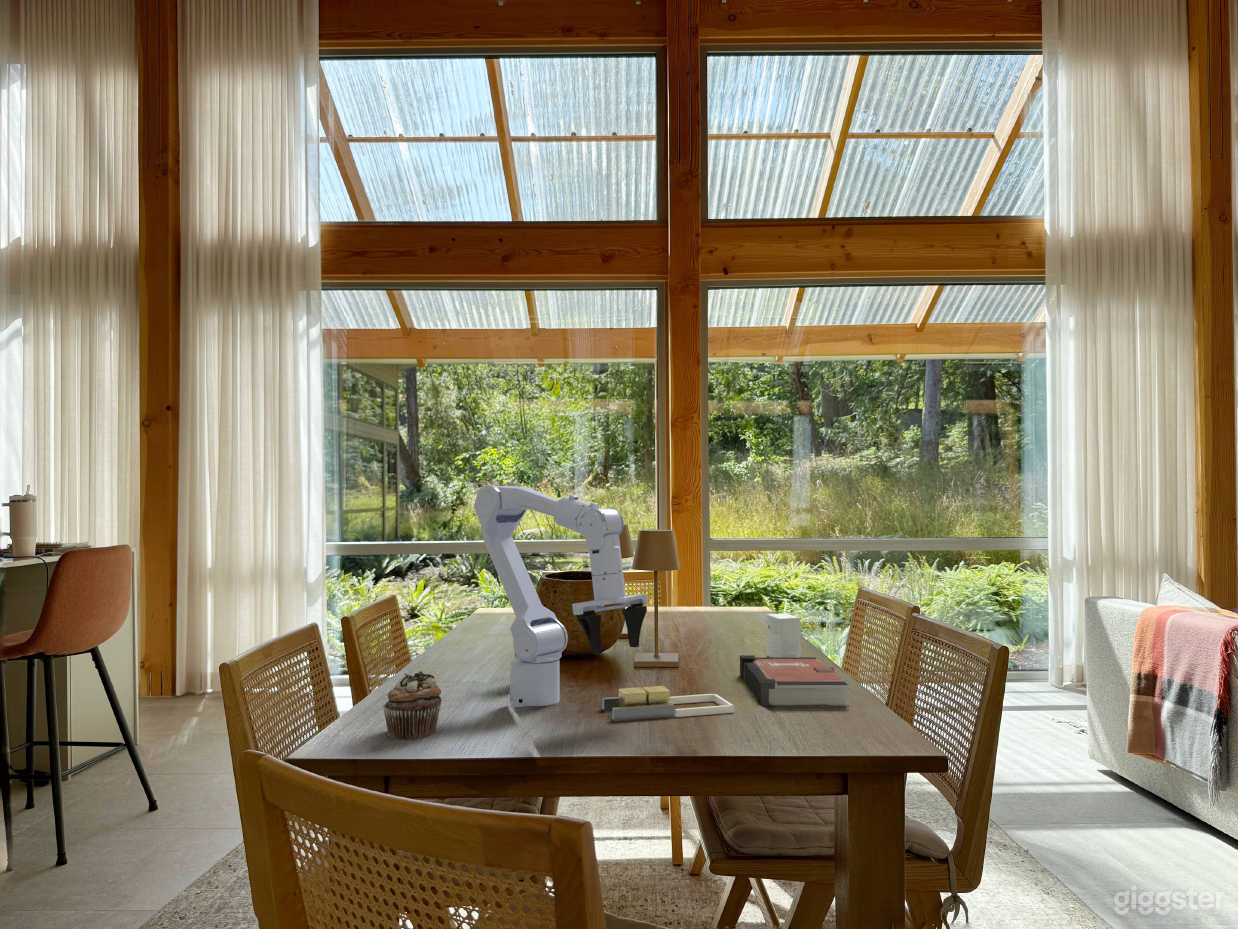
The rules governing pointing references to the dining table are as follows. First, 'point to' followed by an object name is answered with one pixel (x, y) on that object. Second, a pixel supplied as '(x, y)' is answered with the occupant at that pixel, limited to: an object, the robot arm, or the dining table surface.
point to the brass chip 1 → (632, 697)
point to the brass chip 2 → (657, 695)
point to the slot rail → (635, 710)
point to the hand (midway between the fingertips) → (616, 650)
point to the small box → (783, 635)
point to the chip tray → (723, 708)
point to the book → (792, 681)
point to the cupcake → (413, 707)
